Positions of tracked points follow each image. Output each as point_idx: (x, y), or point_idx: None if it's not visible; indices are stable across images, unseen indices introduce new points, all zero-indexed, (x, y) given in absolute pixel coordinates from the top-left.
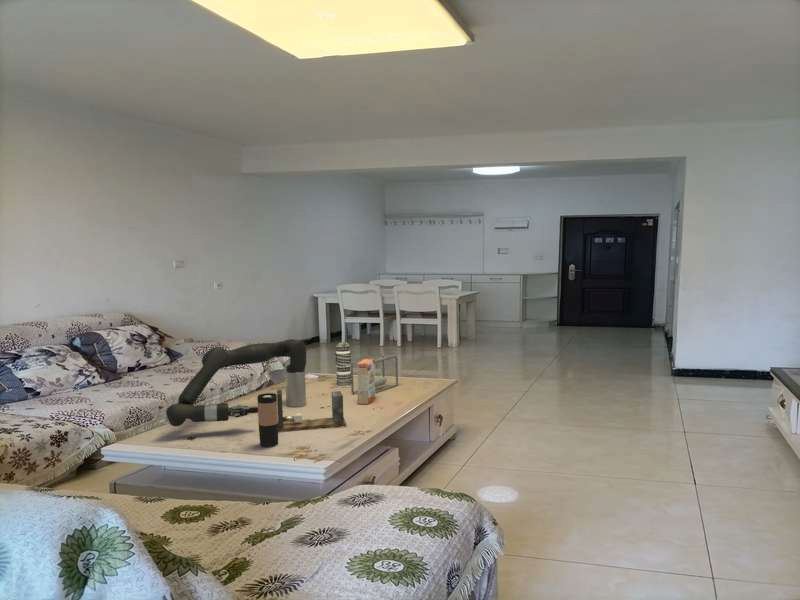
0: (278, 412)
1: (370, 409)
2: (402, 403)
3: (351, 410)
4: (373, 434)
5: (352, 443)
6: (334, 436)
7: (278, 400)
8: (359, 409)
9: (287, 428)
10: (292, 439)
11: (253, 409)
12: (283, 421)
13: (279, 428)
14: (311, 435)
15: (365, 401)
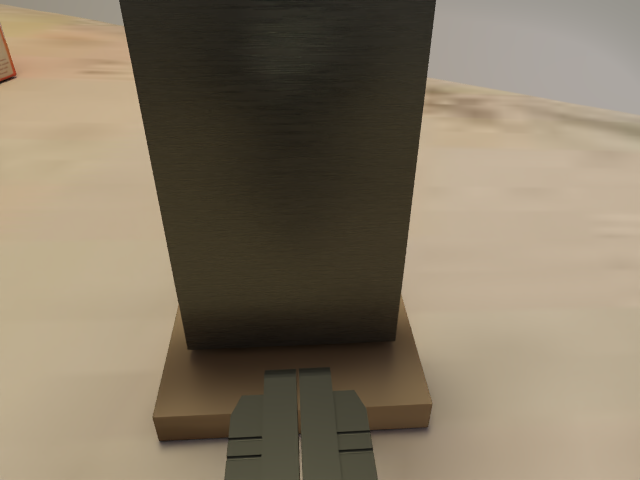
0: (408, 217)
1: (101, 77)
2: (85, 37)
3: (66, 107)
4: (477, 86)
5: (611, 121)
6: (513, 152)
7: (424, 77)
8: (71, 93)
9: (401, 296)
10: (609, 286)
11: (370, 447)
12: (176, 322)
13: (411, 341)
14: (502, 212)
15: (1, 65)
